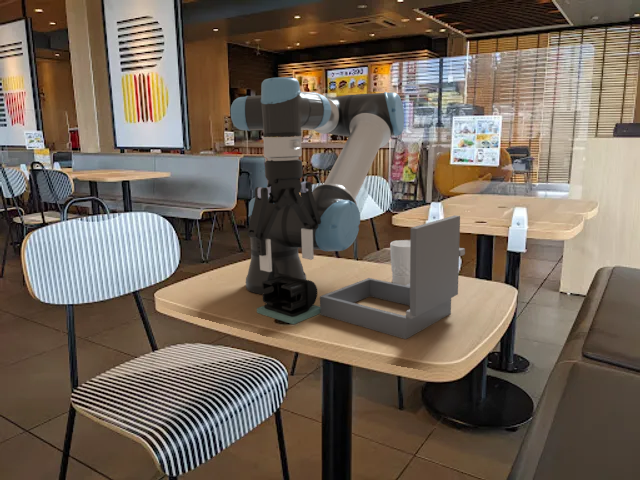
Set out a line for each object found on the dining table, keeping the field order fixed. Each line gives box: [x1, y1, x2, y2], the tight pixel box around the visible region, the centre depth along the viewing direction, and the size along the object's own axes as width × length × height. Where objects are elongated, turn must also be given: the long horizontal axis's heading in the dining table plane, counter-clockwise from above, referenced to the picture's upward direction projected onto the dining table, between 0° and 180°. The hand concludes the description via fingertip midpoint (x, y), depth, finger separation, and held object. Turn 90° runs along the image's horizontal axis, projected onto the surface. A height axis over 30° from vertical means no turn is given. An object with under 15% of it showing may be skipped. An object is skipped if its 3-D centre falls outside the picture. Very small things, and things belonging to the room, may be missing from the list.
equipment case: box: [319, 215, 466, 340], centre depth 104 cm, size 23×19×21 cm
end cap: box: [262, 273, 318, 317], centre depth 107 cm, size 10×7×7 cm
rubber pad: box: [256, 304, 320, 325], centre depth 108 cm, size 11×9×1 cm
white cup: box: [389, 239, 410, 285], centre depth 126 cm, size 8×8×10 cm
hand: (287, 264), depth 106 cm, fingers open, 11 cm apart
